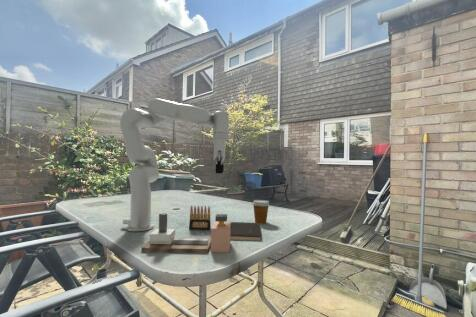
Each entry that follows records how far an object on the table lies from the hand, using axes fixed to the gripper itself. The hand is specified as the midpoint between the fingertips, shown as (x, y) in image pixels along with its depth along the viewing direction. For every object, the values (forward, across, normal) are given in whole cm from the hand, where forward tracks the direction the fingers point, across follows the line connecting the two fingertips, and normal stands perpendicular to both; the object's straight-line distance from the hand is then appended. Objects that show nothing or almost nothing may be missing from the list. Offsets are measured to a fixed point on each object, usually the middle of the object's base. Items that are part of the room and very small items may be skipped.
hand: (219, 172), depth 115 cm
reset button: (+21, +19, +2) cm, 29 cm away
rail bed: (+29, +19, -15) cm, 38 cm away
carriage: (+27, +19, -21) cm, 39 cm away
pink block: (+29, +19, +2) cm, 35 cm away
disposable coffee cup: (+29, -20, +23) cm, 42 cm away
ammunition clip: (+29, -5, -10) cm, 31 cm away
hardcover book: (+30, -2, +12) cm, 32 cm away
